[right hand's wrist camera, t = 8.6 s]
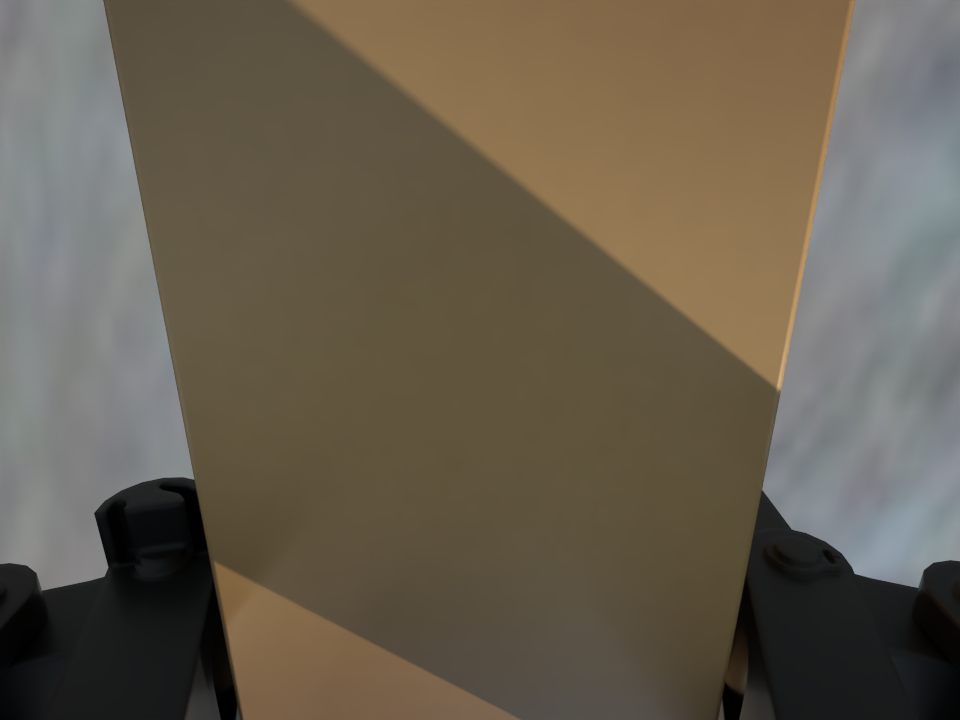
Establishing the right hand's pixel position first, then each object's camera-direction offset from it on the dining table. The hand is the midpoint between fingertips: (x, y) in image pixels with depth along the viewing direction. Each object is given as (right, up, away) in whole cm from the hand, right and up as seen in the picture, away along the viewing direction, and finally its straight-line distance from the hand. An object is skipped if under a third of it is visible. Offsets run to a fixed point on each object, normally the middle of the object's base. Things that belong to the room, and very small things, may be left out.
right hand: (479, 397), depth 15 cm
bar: (0, +12, -4) cm, 12 cm away
